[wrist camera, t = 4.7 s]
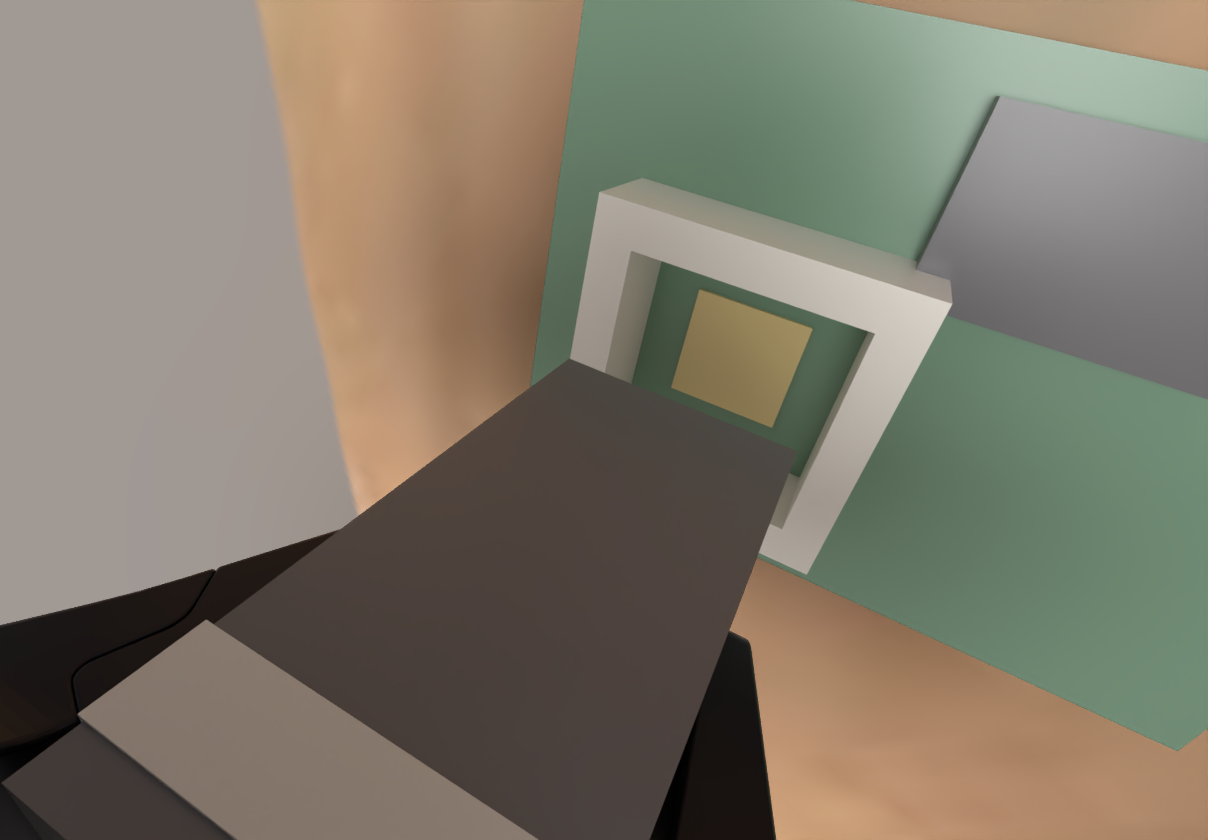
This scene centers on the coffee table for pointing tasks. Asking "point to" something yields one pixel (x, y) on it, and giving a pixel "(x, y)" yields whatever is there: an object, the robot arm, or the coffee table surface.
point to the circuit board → (919, 314)
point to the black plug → (452, 647)
